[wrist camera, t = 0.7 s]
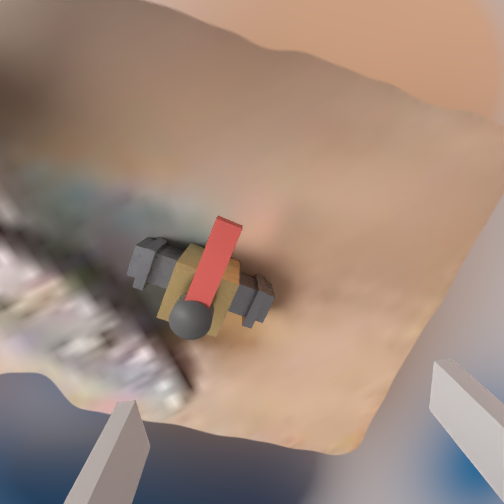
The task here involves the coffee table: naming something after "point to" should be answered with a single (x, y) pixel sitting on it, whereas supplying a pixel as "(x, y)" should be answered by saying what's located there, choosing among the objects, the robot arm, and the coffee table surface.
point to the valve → (182, 273)
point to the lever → (205, 283)
